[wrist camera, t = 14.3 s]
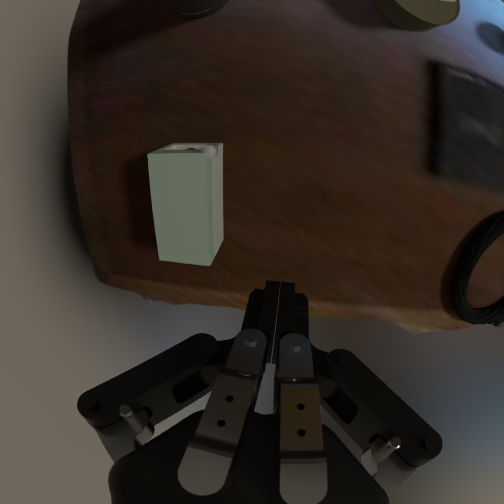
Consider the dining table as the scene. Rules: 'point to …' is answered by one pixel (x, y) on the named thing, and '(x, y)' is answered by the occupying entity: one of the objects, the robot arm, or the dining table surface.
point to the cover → (183, 204)
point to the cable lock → (468, 261)
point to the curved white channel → (216, 186)
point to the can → (419, 13)
